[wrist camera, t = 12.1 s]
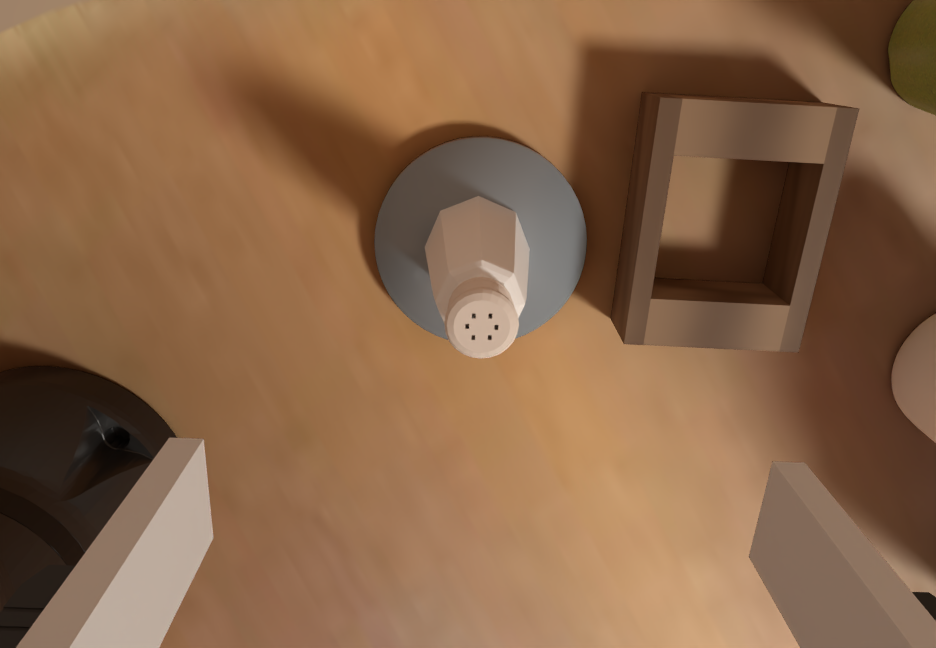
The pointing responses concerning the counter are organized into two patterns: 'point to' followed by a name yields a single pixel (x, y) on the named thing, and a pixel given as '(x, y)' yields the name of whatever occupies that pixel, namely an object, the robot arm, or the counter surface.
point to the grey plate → (500, 181)
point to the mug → (917, 377)
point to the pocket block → (795, 235)
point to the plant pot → (915, 55)
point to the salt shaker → (478, 275)
